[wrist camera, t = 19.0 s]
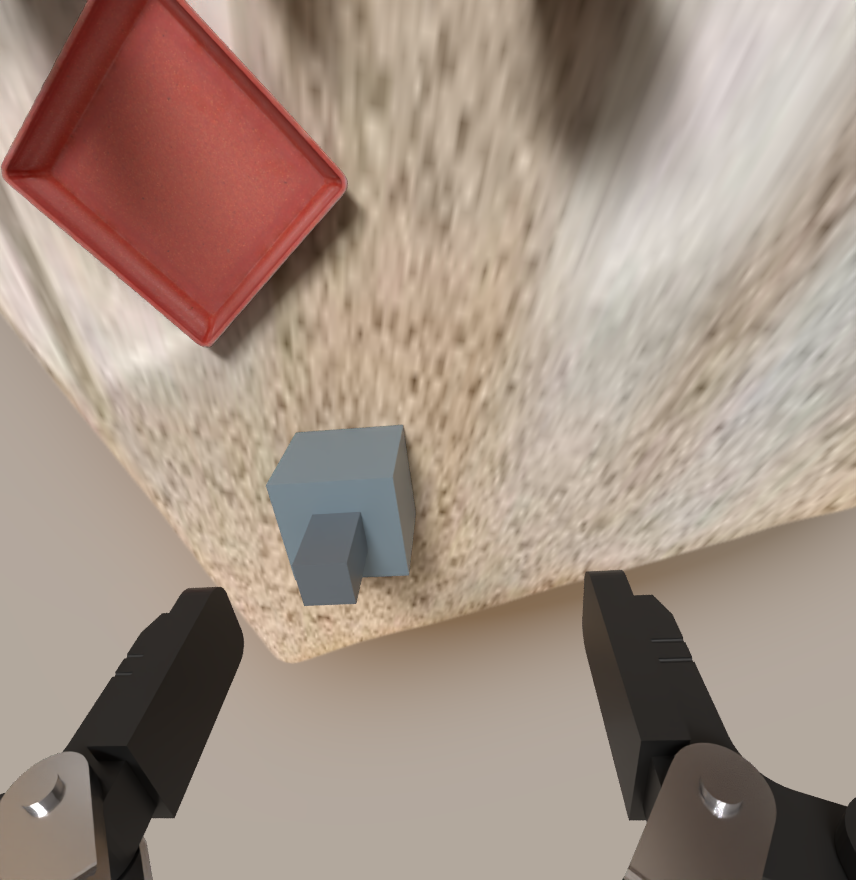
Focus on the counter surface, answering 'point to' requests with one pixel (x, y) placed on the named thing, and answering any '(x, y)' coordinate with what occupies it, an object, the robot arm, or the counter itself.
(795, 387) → the counter surface
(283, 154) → the plant saucer
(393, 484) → the grey block
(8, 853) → the robot arm
